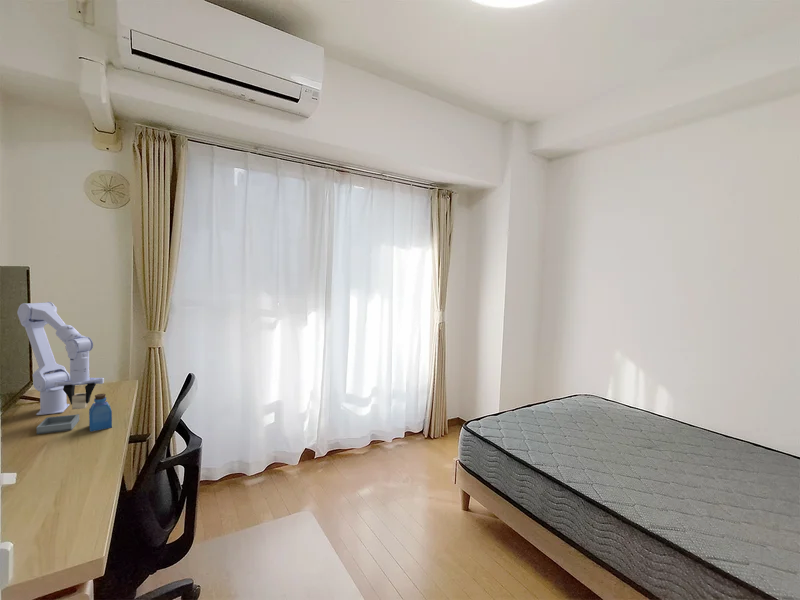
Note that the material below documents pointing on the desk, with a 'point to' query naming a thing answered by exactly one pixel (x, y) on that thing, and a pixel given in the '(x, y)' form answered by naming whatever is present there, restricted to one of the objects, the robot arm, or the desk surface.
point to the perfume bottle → (100, 414)
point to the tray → (58, 424)
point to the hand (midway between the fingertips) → (80, 403)
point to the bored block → (79, 401)
